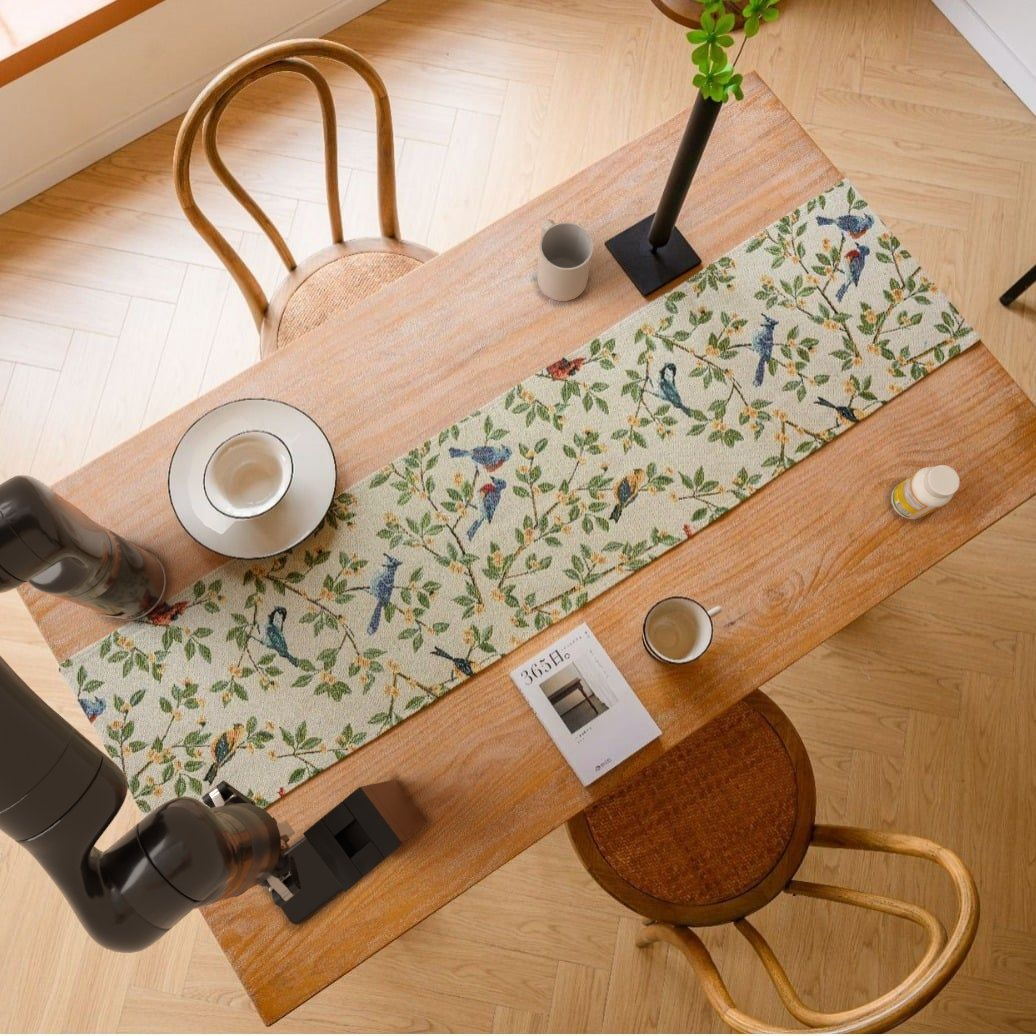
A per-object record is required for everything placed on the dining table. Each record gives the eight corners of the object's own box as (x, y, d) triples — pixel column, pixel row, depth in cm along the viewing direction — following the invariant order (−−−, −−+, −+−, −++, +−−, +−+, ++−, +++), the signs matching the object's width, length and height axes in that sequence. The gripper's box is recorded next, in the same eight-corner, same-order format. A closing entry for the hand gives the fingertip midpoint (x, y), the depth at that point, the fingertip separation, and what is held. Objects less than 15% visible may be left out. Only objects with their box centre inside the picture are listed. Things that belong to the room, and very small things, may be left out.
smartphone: (369, 787, 112) (259, 871, 110) (368, 787, 111) (257, 872, 109) (406, 841, 111) (295, 928, 108) (405, 842, 110) (294, 929, 107)
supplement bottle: (889, 516, 122) (921, 497, 113) (891, 479, 124) (922, 456, 114) (929, 523, 122) (964, 503, 113) (930, 485, 123) (965, 462, 114)
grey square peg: (274, 830, 100) (250, 837, 91) (286, 820, 101) (264, 826, 91) (283, 842, 100) (260, 851, 90) (295, 832, 100) (273, 840, 91)
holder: (353, 814, 111) (302, 833, 82) (395, 779, 112) (359, 786, 83) (385, 857, 110) (345, 892, 81) (427, 821, 111) (402, 843, 82)
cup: (550, 310, 129) (554, 278, 120) (519, 253, 131) (521, 217, 122) (595, 290, 130) (602, 257, 121) (564, 234, 132) (569, 197, 123)
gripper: (308, 886, 78) (342, 864, 95) (217, 758, 81) (265, 759, 98) (235, 947, 77) (283, 913, 94) (145, 815, 79) (207, 805, 96)
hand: (273, 834), depth 96 cm, fingers closed on grey square peg, 1 cm apart
